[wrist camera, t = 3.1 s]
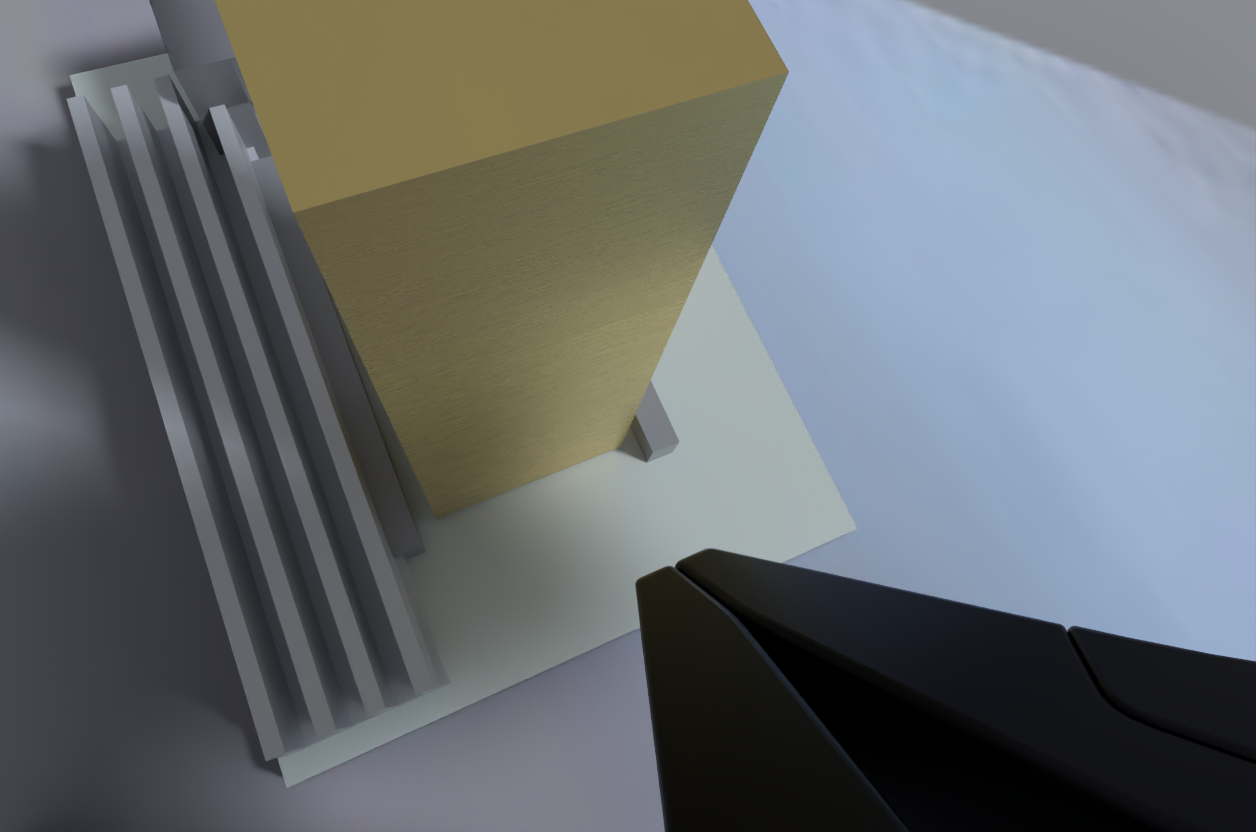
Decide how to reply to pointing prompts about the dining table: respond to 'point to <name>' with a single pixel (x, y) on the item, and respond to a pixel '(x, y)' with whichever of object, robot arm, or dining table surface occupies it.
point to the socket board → (394, 442)
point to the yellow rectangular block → (507, 202)
